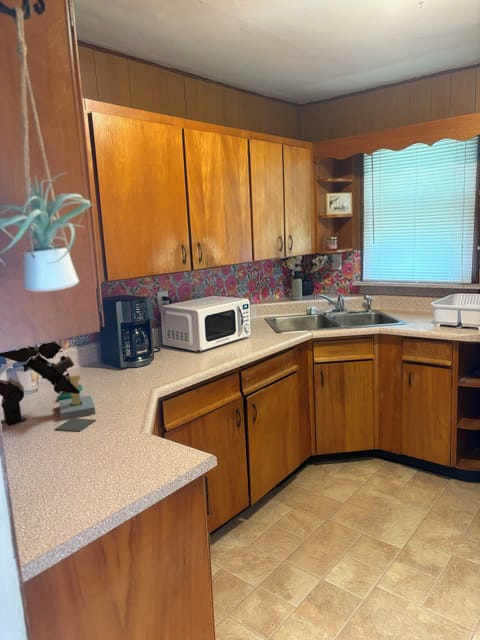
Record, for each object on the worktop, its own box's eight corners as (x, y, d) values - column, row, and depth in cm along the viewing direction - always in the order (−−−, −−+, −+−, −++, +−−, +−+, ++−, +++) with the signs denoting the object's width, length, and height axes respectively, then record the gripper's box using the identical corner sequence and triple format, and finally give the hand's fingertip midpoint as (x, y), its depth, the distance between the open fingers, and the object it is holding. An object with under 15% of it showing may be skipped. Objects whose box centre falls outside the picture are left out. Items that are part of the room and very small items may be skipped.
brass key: (70, 412, 183) (66, 378, 180) (69, 409, 185) (65, 376, 183) (84, 409, 185) (80, 376, 182) (83, 407, 187) (79, 374, 185)
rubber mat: (54, 430, 166) (54, 429, 166) (71, 419, 175) (71, 418, 175) (79, 431, 163) (79, 430, 163) (95, 420, 173) (95, 419, 173)
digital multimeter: (58, 402, 196) (57, 395, 196) (65, 391, 211) (64, 385, 210) (76, 400, 197) (76, 394, 197) (82, 390, 212) (81, 383, 211)
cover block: (61, 419, 176) (60, 413, 175) (59, 406, 190) (58, 400, 190) (95, 413, 180) (94, 407, 180) (90, 401, 195) (90, 395, 194)
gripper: (60, 356, 171) (95, 381, 177) (57, 346, 188) (90, 369, 194) (39, 381, 169) (75, 405, 175) (38, 369, 186) (71, 391, 192)
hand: (78, 391), depth 184 cm, fingers closed on brass key, 3 cm apart
